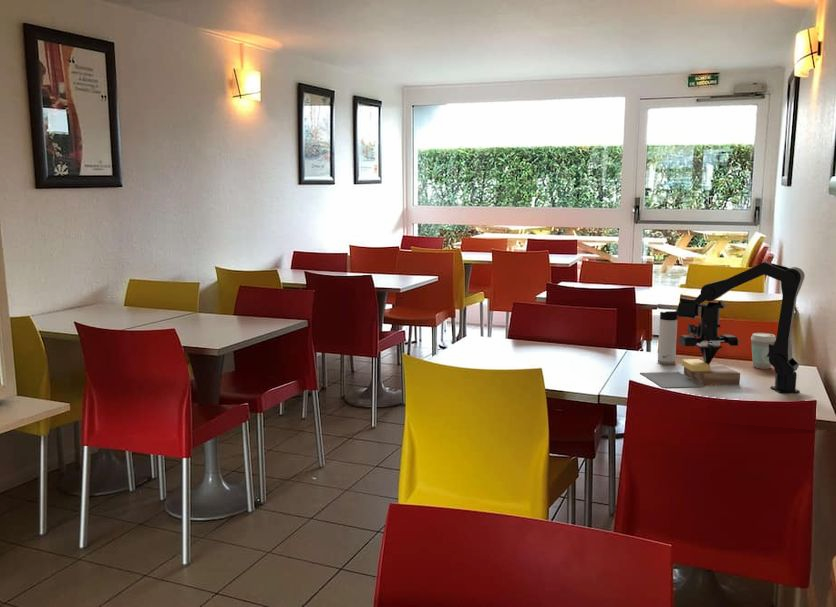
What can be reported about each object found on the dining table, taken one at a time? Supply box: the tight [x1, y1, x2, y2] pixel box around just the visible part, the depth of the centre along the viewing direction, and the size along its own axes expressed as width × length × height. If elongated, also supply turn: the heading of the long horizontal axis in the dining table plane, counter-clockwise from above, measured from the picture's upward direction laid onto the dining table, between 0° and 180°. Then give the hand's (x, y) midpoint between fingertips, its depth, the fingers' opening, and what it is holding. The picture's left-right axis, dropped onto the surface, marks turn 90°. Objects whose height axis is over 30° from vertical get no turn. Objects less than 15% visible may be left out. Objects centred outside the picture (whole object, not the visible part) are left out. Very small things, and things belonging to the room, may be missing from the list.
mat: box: [639, 371, 705, 389], centre depth 253 cm, size 20×14×1 cm
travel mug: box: [657, 310, 678, 366], centre depth 277 cm, size 6×7×20 cm
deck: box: [683, 361, 741, 387], centre depth 254 cm, size 16×12×4 cm
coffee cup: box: [750, 332, 777, 370], centre depth 271 cm, size 8×8×12 cm
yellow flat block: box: [681, 358, 710, 371], centre depth 253 cm, size 9×6×2 cm, turn 3°
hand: (706, 365), depth 253 cm, fingers closed
